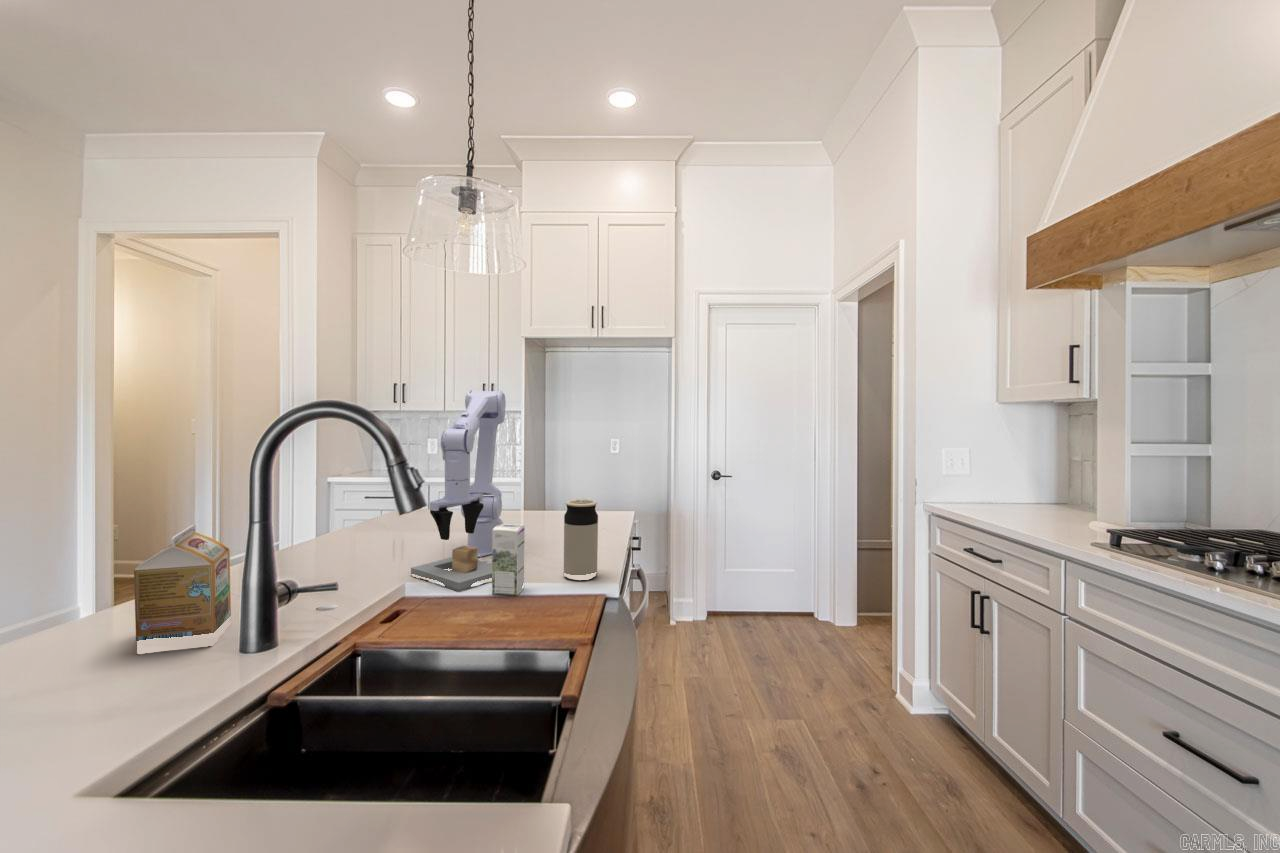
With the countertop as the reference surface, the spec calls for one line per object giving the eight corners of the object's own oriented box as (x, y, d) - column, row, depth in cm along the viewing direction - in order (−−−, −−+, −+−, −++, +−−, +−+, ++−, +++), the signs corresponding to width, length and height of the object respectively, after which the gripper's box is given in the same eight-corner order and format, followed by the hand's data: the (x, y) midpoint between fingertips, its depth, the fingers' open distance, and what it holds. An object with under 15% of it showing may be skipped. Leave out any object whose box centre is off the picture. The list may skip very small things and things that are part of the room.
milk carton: (161, 631, 108) (158, 526, 107) (231, 624, 111) (228, 522, 110) (136, 655, 98) (133, 539, 97) (213, 646, 102) (210, 535, 101)
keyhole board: (460, 563, 153) (460, 555, 153) (508, 576, 143) (508, 568, 142) (410, 575, 142) (410, 567, 142) (458, 591, 131) (458, 582, 131)
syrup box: (525, 587, 135) (525, 523, 134) (517, 596, 129) (517, 529, 128) (500, 586, 135) (500, 522, 135) (491, 595, 130) (491, 528, 129)
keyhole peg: (463, 572, 144) (463, 545, 143) (477, 574, 142) (477, 547, 142) (452, 577, 140) (452, 549, 140) (466, 579, 138) (466, 551, 138)
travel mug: (601, 579, 142) (602, 503, 141) (568, 583, 139) (569, 505, 138) (591, 570, 149) (592, 498, 148) (560, 573, 146) (560, 499, 145)
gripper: (468, 474, 151) (468, 528, 151) (420, 481, 138) (421, 539, 139) (489, 476, 147) (489, 531, 148) (441, 484, 134) (441, 544, 135)
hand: (457, 536), depth 143 cm, fingers open, 7 cm apart
